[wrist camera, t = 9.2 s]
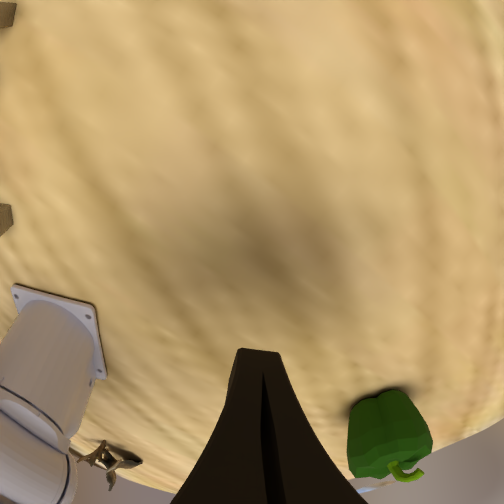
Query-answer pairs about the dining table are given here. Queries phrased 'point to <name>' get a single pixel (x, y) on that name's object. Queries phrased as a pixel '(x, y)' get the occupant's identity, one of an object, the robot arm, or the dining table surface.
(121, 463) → the eagle figurine
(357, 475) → the bell pepper
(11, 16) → the motor mount
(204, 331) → the dining table surface
